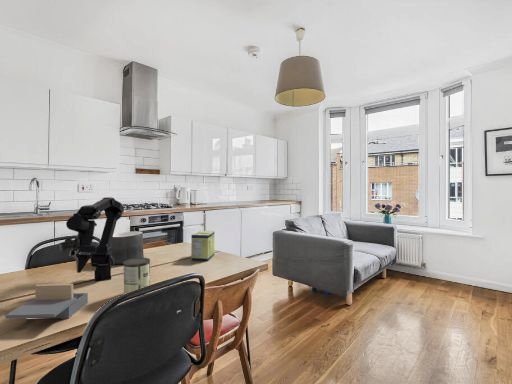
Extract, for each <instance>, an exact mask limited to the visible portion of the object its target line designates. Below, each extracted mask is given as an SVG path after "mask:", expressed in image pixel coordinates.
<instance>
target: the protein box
mask: <svg viewBox="0 0 512 384" xmlns="http://www.w3.org/2000/svg"><path fill="white" fill-rule="evenodd" d="M190 242H191V247H190V249H191V250H190V251H191V257H190V258H191V261H193V262H195V261H197V262H198V261H200V262H202V261H203V262H209V261H210V260H211V259H212V258H213V257H214V256H215V231H211V230H206V231H205V230H198V231H197V232H194V233H193V234H191V241H190Z"/></svg>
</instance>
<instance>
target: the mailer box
mask: <svg viewBox="0 0 512 384" xmlns="http://www.w3.org/2000/svg"><path fill="white" fill-rule="evenodd" d="M73 298H77V301H75V302H74V303H73V304H71V305H70V306H69V307H67V308H66V309H65V310H63V311H62V312H61V313H59V314H58V315H57V316H55V317H41V318H62V319H70V318H71V317H72V315H73V314H74V315H75V314H76V313H77V312H79V311H80V310H82V308H83V306H84V307H85V306H86V305H87V304H89V303H88V302H89V301H88V299H89V297H88V292H73ZM78 310H79V311H78ZM74 315H73V316H74ZM69 317H70V318H69Z"/></svg>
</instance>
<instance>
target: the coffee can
mask: <svg viewBox="0 0 512 384" xmlns="http://www.w3.org/2000/svg"><path fill="white" fill-rule="evenodd" d="M122 265H123V295H124V294H125V293H128V292H131V291H134V290H137V289H140V288H143V287H146V286H149V285H150V286H151V275H150V273H151V266H150V265H151V259H150V258H148V257H144V258H132V259H128V260H126V261H124V262H123V264H122Z"/></svg>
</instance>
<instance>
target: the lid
mask: <svg viewBox="0 0 512 384" xmlns="http://www.w3.org/2000/svg"><path fill="white" fill-rule="evenodd" d="M34 289H35V292H34V293H35V296H34V297H35V298H33V299H31V300H30V301H27V302H26V303H24V304H23V305H20V306H19V307H17V308H16V309H14V310H12V311H10V312H8V313H7V314H5V316H4V317H5V318H4V319H26V318H41V317H55V316H57V315H58V314H59V313H61V312H62V311H63V310H65V309H66V308H67V307H69V306H70V305H71V304H73V303H74V302H75V301H77V298H73V293H74V283H53V284H52V283H49V284H45V283H44V284H43V283H42V284H36V285H35V288H34Z"/></svg>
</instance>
